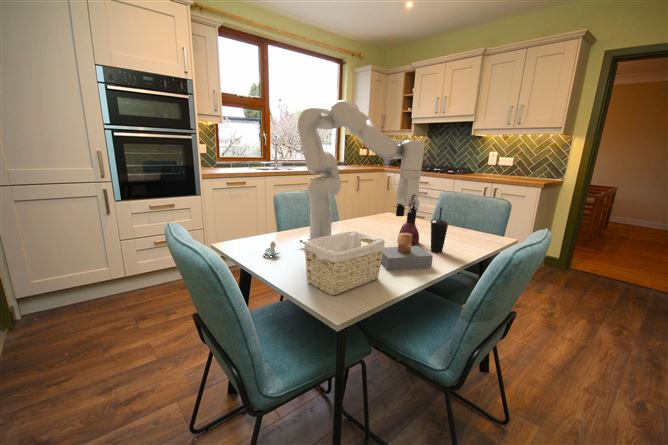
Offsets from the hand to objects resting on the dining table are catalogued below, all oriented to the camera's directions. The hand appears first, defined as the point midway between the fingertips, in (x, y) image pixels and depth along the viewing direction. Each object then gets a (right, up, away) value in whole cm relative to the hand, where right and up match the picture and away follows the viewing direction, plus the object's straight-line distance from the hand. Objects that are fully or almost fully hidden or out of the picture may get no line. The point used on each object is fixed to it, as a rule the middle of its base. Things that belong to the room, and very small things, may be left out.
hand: (405, 219), depth 118 cm
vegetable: (+9, -11, +31) cm, 34 cm away
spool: (0, -13, +3) cm, 13 cm away
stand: (0, -18, +4) cm, 18 cm away
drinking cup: (+18, -14, +19) cm, 30 cm away
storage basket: (-24, -22, -12) cm, 34 cm away
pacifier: (-54, -15, +9) cm, 56 cm away
